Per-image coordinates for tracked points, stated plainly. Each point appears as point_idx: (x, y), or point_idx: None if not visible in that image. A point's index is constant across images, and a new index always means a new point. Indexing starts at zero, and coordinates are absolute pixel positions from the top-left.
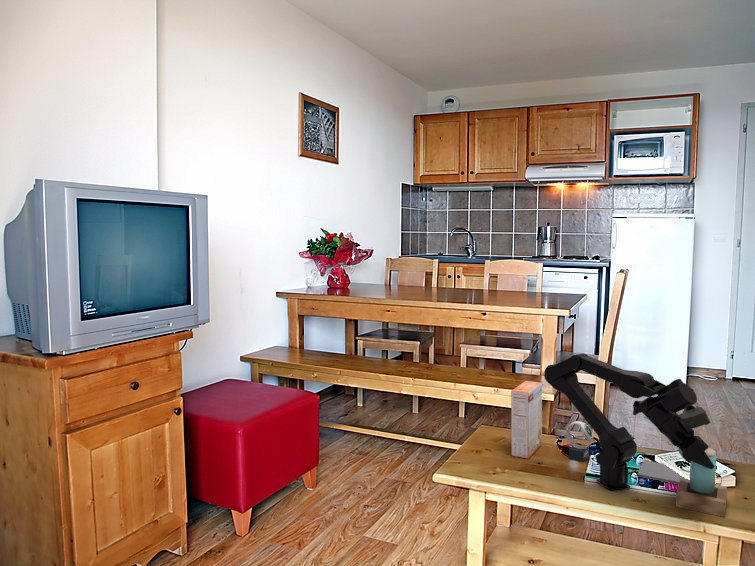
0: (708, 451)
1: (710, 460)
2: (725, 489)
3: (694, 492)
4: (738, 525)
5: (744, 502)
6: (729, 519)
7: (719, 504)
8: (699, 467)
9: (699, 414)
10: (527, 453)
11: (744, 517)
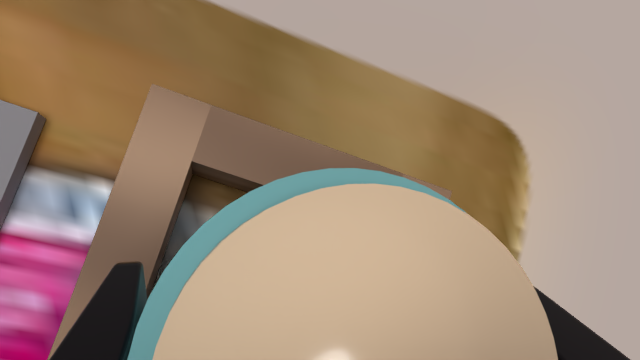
0: (432, 320)
1: (573, 317)
2: (209, 112)
3: None
4: (489, 157)
5: (168, 7)
6: (432, 180)
7: None
8: None
9: None
10: None
11: (387, 90)
